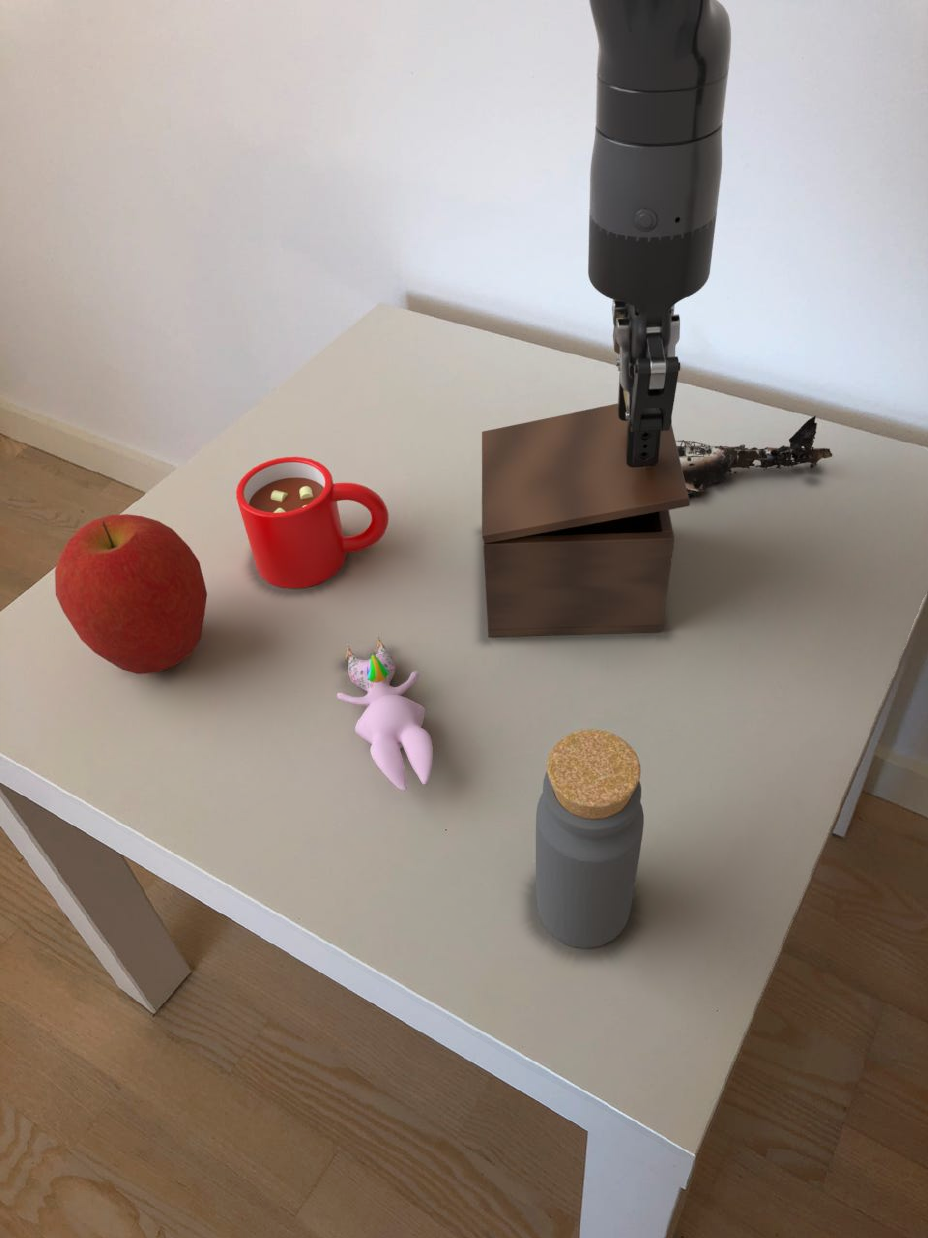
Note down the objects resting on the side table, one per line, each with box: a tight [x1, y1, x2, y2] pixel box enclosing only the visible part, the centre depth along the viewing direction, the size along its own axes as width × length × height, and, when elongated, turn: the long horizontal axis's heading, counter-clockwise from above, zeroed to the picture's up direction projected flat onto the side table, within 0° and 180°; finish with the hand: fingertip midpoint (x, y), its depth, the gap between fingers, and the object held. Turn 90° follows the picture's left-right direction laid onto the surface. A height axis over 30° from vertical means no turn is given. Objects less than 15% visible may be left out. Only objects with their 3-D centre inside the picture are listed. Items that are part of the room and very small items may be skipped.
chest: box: [482, 509, 676, 638], centre depth 75 cm, size 14×13×10 cm
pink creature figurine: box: [336, 634, 434, 792], centre depth 67 cm, size 6×6×15 cm
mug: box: [235, 456, 390, 589], centre depth 80 cm, size 8×12×8 cm, turn 95°
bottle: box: [535, 729, 645, 949], centre depth 53 cm, size 6×6×15 cm
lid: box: [481, 390, 691, 543], centre depth 69 cm, size 14×13×5 cm
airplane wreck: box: [676, 415, 834, 497], centre depth 85 cm, size 6×18×6 cm, turn 94°
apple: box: [54, 513, 208, 675], centre depth 70 cm, size 10×10×14 cm
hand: (637, 438), depth 68 cm, fingers closed on lid, 5 cm apart
